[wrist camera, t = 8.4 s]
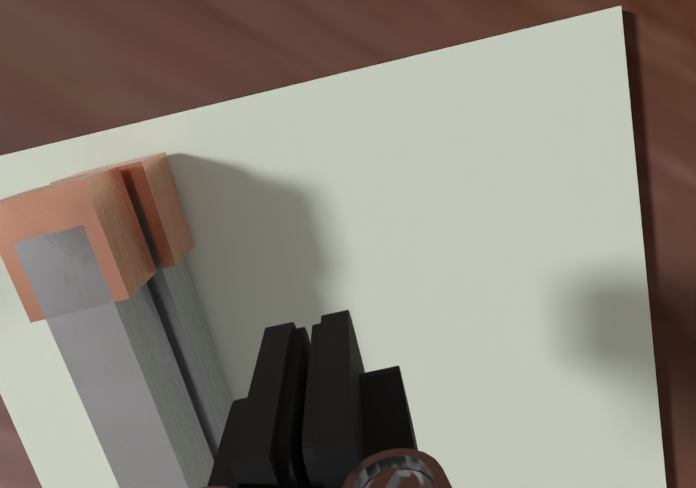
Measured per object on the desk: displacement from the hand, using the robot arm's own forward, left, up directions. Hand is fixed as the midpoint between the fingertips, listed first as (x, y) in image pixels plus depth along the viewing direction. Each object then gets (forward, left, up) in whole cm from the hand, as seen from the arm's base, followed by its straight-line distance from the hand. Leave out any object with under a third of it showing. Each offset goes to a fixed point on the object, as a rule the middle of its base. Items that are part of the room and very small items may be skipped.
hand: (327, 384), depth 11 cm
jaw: (+4, -6, -5) cm, 9 cm away
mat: (+7, -2, -8) cm, 11 cm away
